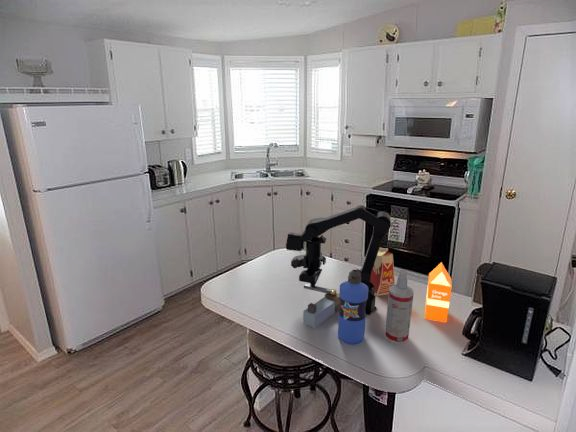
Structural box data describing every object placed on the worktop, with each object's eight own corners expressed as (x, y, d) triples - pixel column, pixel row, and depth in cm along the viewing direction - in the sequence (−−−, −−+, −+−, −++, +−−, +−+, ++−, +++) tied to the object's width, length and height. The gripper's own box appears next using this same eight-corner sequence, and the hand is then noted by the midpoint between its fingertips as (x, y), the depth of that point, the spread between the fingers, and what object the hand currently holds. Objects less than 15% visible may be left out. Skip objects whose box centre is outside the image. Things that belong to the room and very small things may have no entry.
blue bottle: (360, 348, 123) (365, 279, 116) (333, 340, 127) (336, 273, 119) (367, 332, 131) (372, 267, 124) (341, 326, 135) (345, 262, 127)
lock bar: (337, 293, 145) (337, 289, 144) (335, 296, 143) (335, 292, 142) (305, 286, 150) (305, 282, 150) (303, 289, 148) (303, 285, 148)
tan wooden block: (340, 308, 146) (341, 294, 144) (335, 312, 143) (335, 298, 141) (330, 304, 149) (330, 290, 147) (324, 308, 146) (324, 294, 145)
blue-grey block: (334, 313, 143) (335, 295, 141) (314, 328, 134) (314, 309, 131) (323, 308, 146) (324, 291, 144) (303, 323, 137) (303, 304, 134)
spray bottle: (402, 329, 133) (409, 265, 125) (412, 342, 126) (420, 275, 118) (381, 331, 132) (387, 266, 124) (389, 344, 125) (396, 277, 117)
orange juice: (445, 310, 145) (452, 263, 139) (446, 322, 137) (454, 273, 131) (424, 306, 148) (430, 260, 142) (424, 318, 140) (430, 269, 134)
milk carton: (395, 292, 158) (400, 248, 152) (377, 296, 155) (381, 251, 149) (382, 283, 166) (386, 241, 160) (365, 286, 163) (368, 244, 157)
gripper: (300, 239, 155) (300, 273, 160) (285, 259, 138) (286, 295, 144) (326, 243, 151) (325, 277, 157) (314, 263, 135) (314, 300, 140)
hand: (312, 287), depth 149 cm, fingers closed
